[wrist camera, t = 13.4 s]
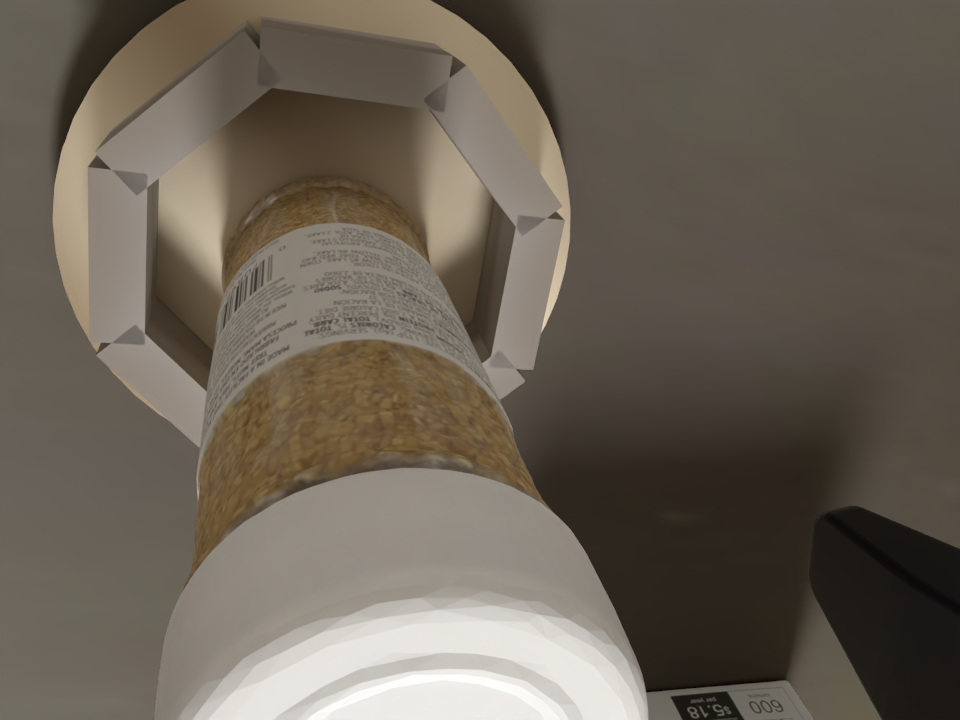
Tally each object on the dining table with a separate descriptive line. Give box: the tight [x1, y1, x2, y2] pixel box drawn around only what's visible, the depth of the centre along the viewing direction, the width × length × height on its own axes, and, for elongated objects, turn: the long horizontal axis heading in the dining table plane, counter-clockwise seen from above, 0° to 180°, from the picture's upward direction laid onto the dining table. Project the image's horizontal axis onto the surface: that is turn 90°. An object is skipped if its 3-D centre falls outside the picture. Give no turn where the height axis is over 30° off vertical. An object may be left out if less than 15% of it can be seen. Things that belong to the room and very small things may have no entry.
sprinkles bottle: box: [154, 176, 648, 720], centre depth 14 cm, size 5×5×14 cm
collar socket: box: [53, 0, 570, 448], centre depth 19 cm, size 11×11×3 cm
